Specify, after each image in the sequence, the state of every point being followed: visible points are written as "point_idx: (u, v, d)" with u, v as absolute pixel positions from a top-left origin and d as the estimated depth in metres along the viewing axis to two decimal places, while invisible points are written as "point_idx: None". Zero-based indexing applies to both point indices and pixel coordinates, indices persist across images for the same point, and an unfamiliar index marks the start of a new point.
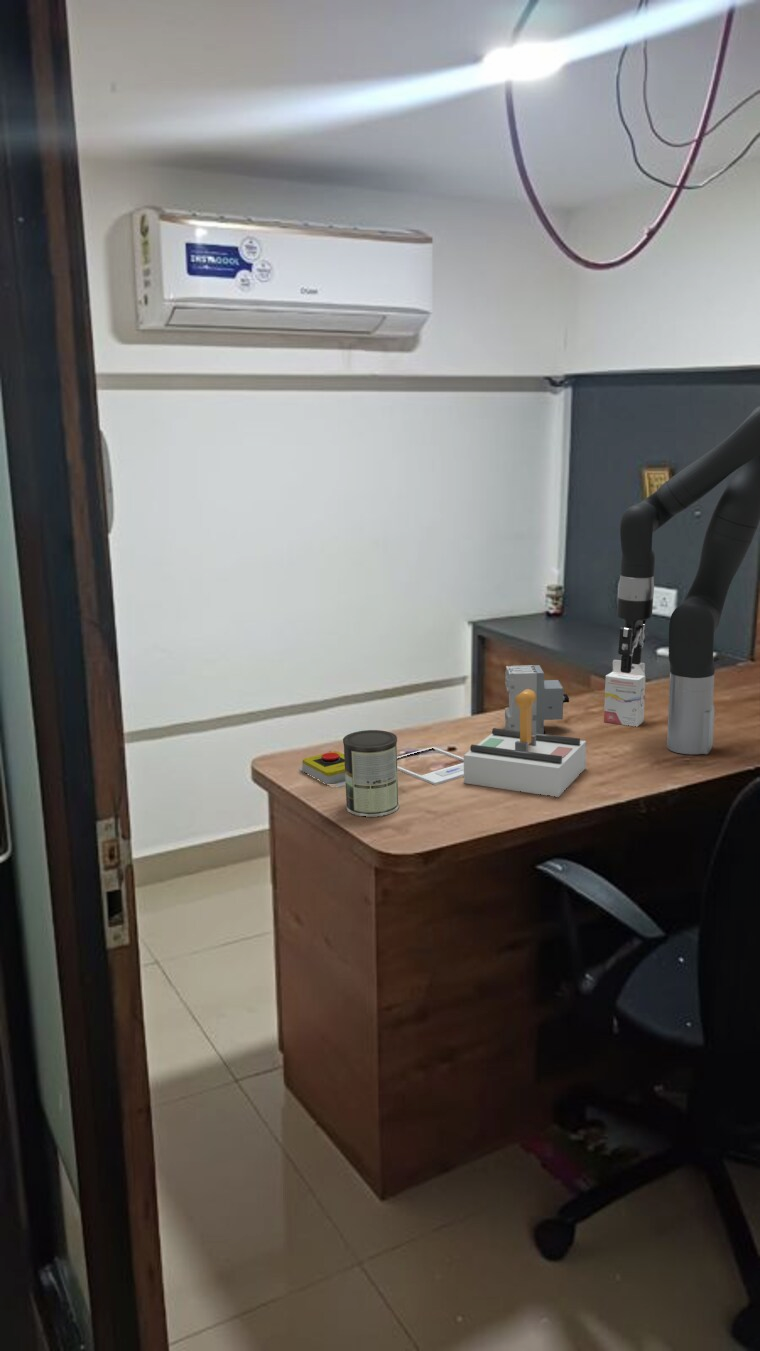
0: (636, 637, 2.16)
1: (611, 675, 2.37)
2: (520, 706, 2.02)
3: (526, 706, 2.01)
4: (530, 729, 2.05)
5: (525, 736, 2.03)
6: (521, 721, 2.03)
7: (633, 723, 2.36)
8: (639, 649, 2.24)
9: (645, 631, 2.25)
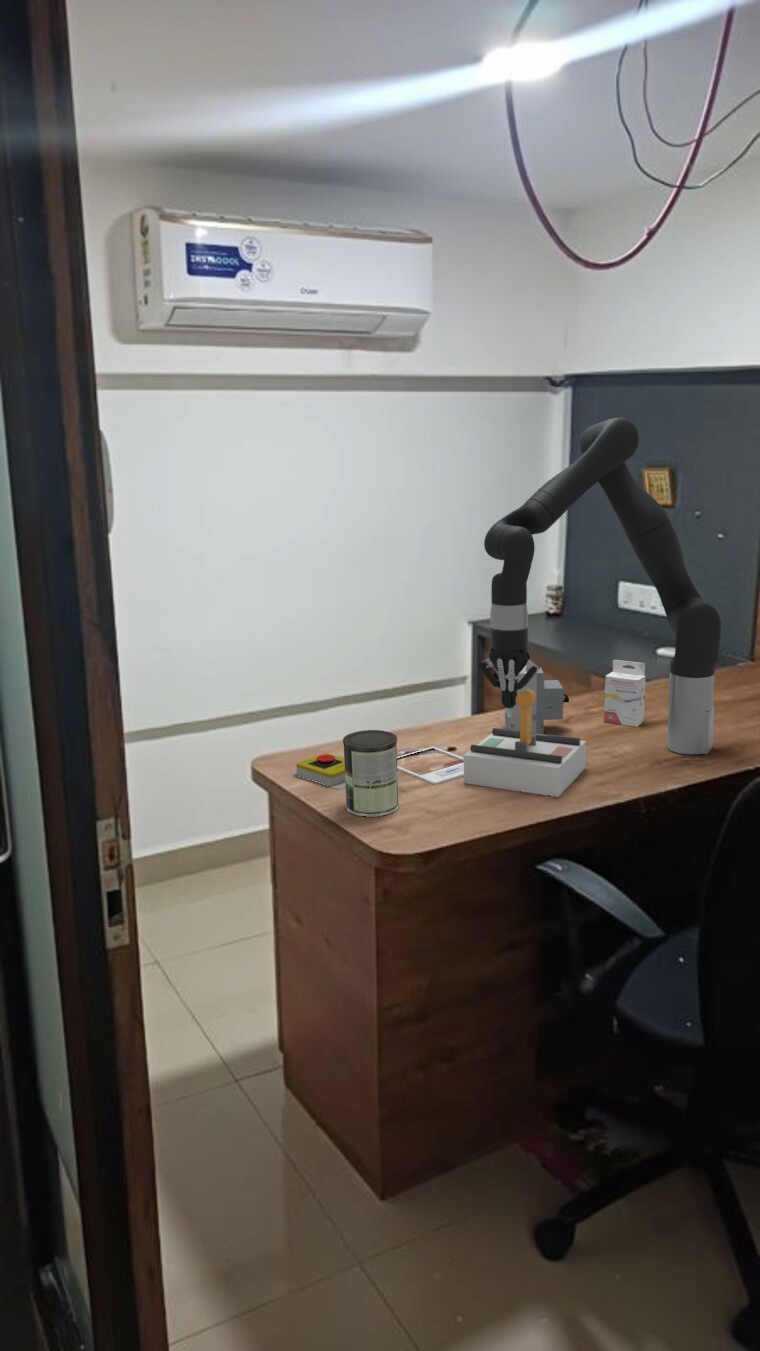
0: None
1: (611, 675, 2.37)
2: (520, 706, 2.02)
3: (526, 706, 2.01)
4: (530, 729, 2.05)
5: (525, 736, 2.03)
6: (521, 721, 2.03)
7: (633, 723, 2.36)
8: None
9: (492, 673, 2.06)
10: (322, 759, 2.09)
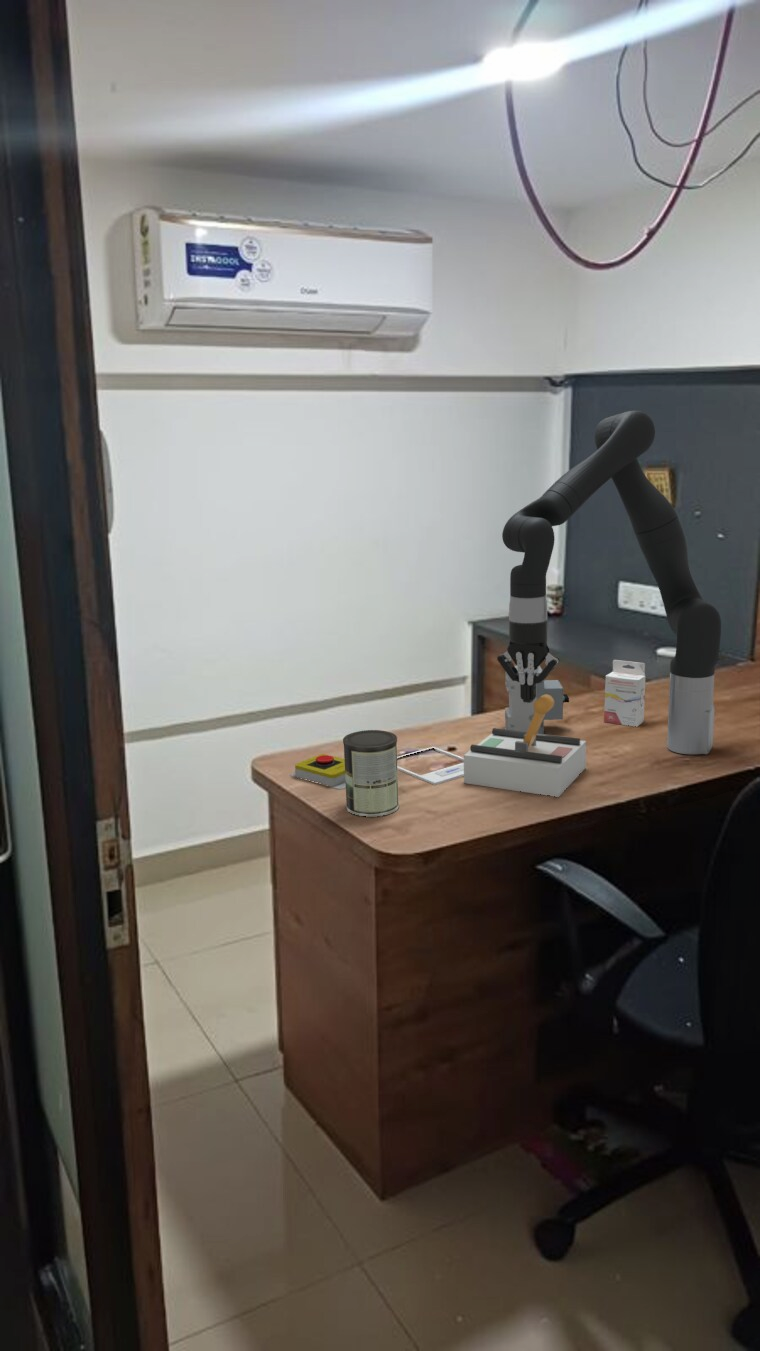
0: None
1: (611, 675, 2.37)
2: (536, 710, 2.00)
3: (542, 712, 2.00)
4: (536, 732, 2.04)
5: (530, 738, 2.03)
6: (532, 724, 2.02)
7: (633, 723, 2.36)
8: None
9: None
10: (321, 760, 2.09)
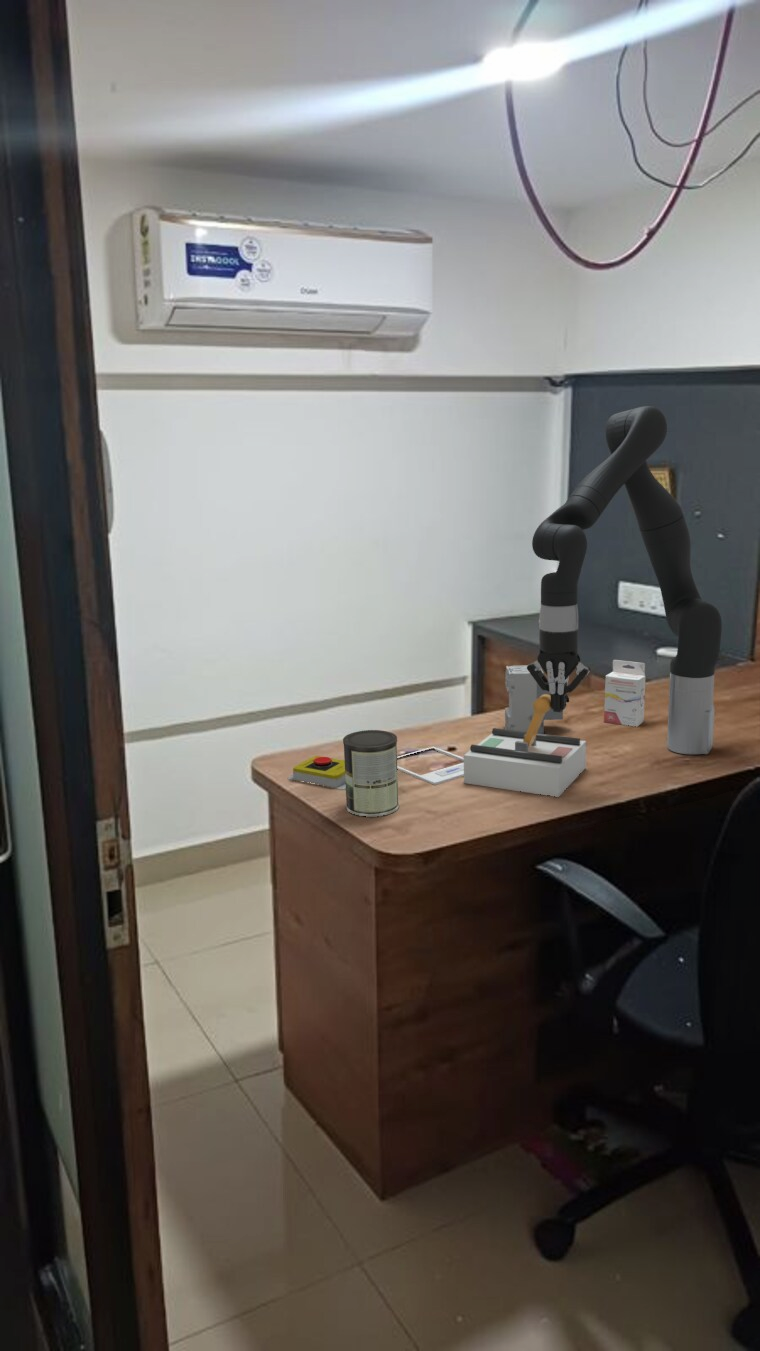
0: None
1: (611, 675, 2.37)
2: (536, 710, 2.00)
3: (542, 712, 2.00)
4: (536, 732, 2.04)
5: (530, 738, 2.03)
6: (531, 723, 2.02)
7: (633, 723, 2.36)
8: None
9: None
10: (320, 761, 2.08)
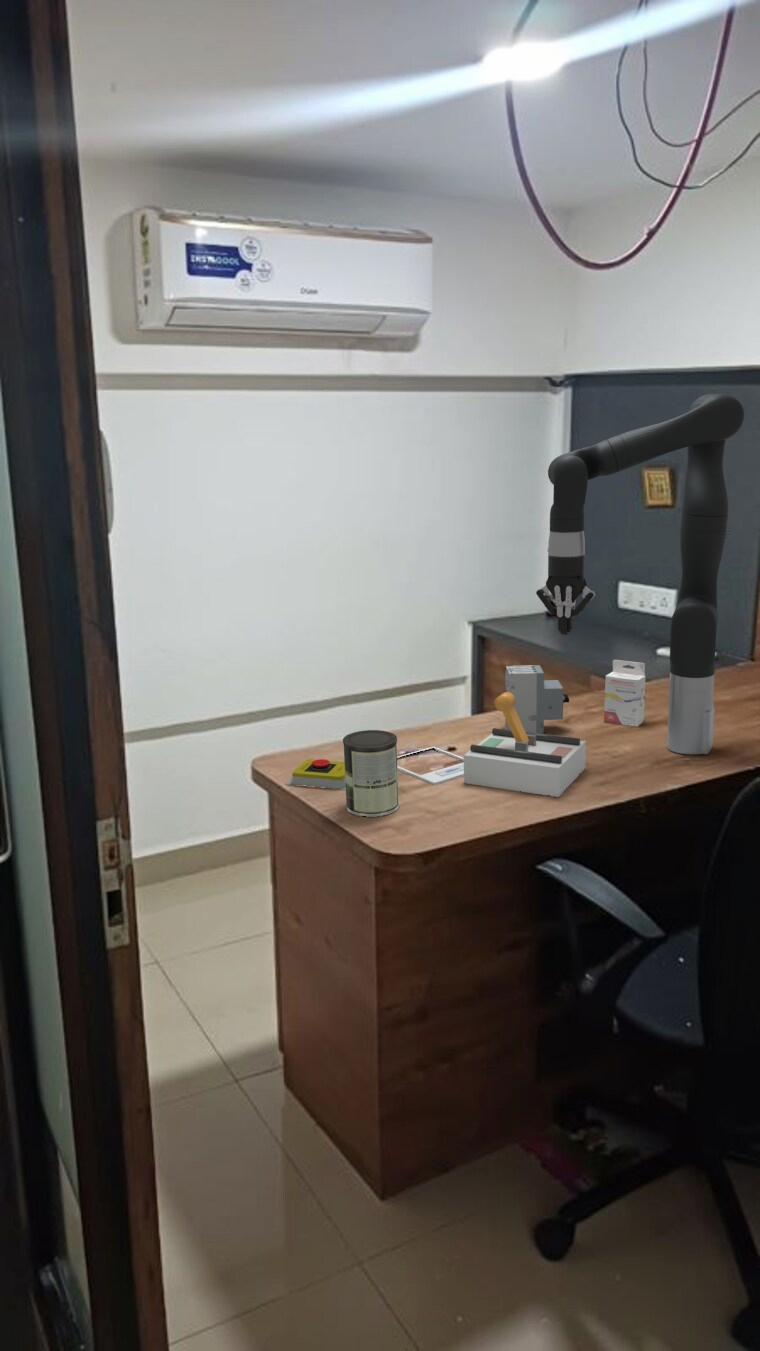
0: None
1: (611, 675, 2.37)
2: (501, 709, 2.04)
3: (507, 707, 2.03)
4: (522, 728, 2.06)
5: (519, 736, 2.04)
6: (509, 723, 2.04)
7: (633, 723, 2.36)
8: None
9: None
10: (320, 764, 2.06)
